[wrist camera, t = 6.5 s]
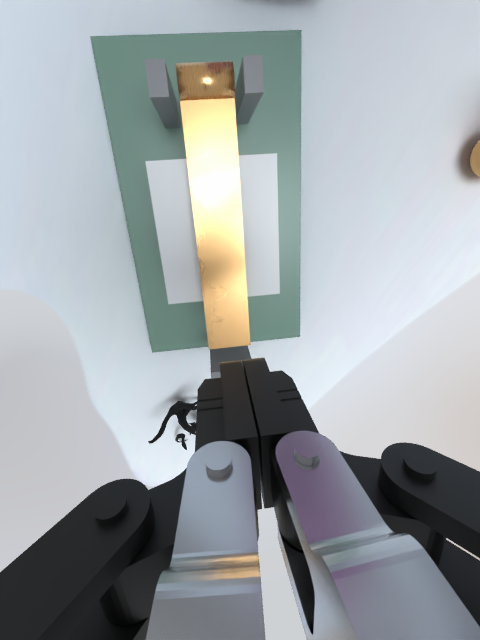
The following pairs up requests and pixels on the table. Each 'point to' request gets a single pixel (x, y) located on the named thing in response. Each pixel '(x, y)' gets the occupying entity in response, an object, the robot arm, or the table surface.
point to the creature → (179, 420)
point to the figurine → (475, 159)
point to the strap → (216, 196)
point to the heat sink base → (164, 140)
